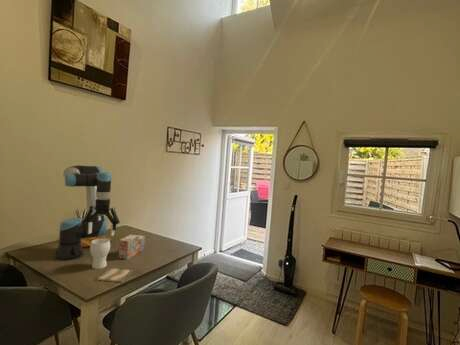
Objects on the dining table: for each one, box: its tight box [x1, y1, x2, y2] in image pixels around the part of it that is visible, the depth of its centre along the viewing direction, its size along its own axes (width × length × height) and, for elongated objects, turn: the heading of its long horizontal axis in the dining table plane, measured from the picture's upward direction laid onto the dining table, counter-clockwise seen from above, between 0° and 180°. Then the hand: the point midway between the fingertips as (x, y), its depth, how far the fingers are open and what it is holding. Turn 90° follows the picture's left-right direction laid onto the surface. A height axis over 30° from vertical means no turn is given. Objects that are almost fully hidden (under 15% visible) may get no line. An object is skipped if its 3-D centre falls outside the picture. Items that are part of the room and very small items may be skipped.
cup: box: [89, 238, 111, 270], centre depth 148 cm, size 11×11×15 cm
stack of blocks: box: [118, 234, 146, 260], centre depth 171 cm, size 21×6×12 cm, turn 168°
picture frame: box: [94, 267, 134, 283], centre depth 139 cm, size 14×14×1 cm
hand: (101, 234), depth 147 cm, fingers open, 13 cm apart
